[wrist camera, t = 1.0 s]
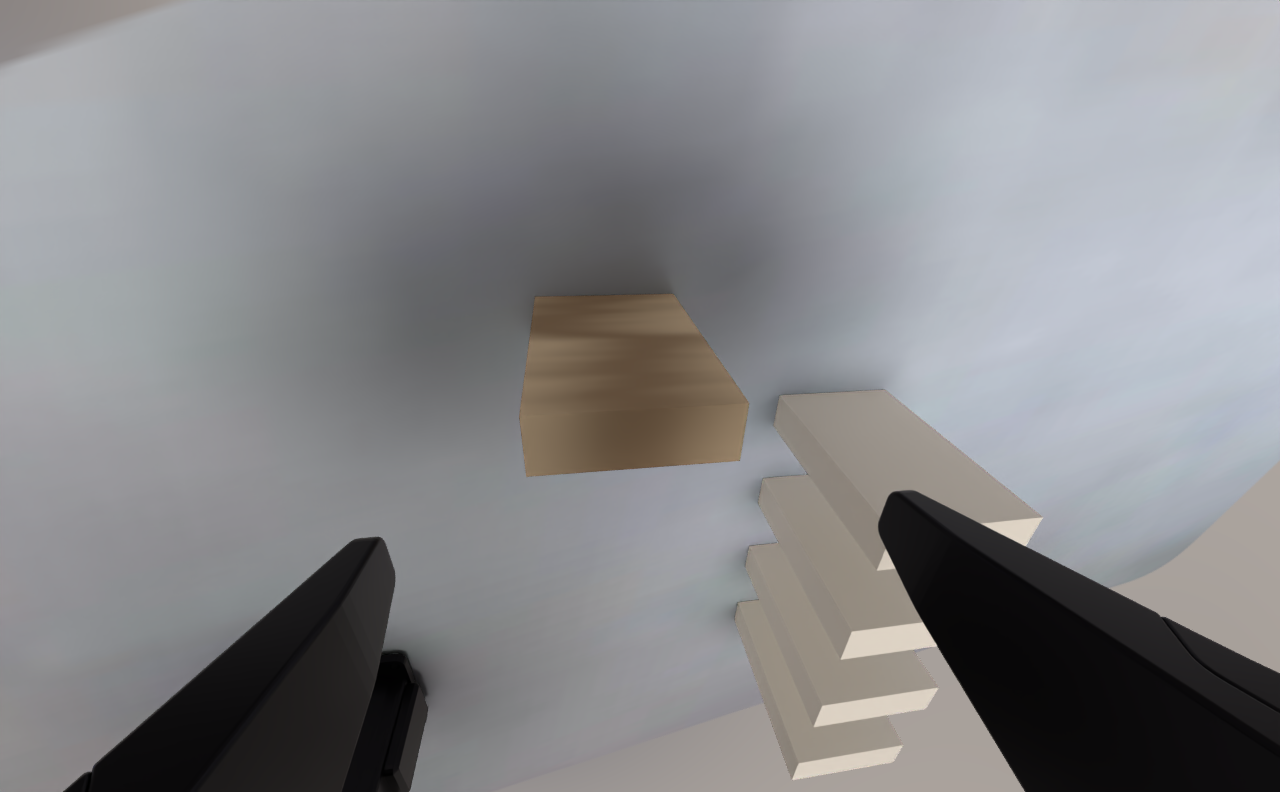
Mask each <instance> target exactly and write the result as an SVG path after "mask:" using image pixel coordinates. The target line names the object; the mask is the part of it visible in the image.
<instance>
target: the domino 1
mask: <svg viewBox="0 0 1280 792" xmlns="http://www.w3.org/2000/svg"><path fill="white" fill-rule="evenodd" d="M773 426H774V428H775V429H776V430H777V432H778V433H779V435H780V436H781V437H782V439H783V440H784V442H785V443H786V444H787V446H788V447H789V449H790V450H791V451H792V453H793V454H794V456H795V457H796V458H797V460H798V461H799V463H800V464H801V465H802V467H803V468H804V470H805V471H806V472H807V474H808V475H809V477H810V478H811V479H812V481H813V482H814V484H815V485H816V486H817V488H818V489H819V491H820V492H821V493H822V495H823V496H824V498H825V499H826V500H827V502H828V503H829V505H830V506H831V507H832V509H833V510H834V512H835V513H836V514H837V516H838V517H839V519H840V520H841V521H842V523H843V524H844V526H845V527H846V528H847V530H848V531H849V532H850V534H851V535H852V537H853V538H854V539H855V541H856V542H857V544H858V545H859V546H860V548H861V549H862V551H863V552H864V553H865V555H866V556H867V558H868V559H869V560H870V562H871V563H872V565H873V566H874V567H875V569H876V570H877V571H878V570H887V569H895V567H894V565H893V563H892V561H891V558H890V556H889V554H888V552H887V550H886V548H885V546H884V544H883V542H882V540H881V538H880V535H879V532H878V521H879V519H880V516H881V513H882V511H883V508H884V505H885V503H886V500H887V497H888V496H889V494H890V493H892V492H894V491H902V490H914V491H917V492H919V493H921V494H923V495H925V496H927V497H929V498H931V499H933V500H935V501H937V502H939V503H941V504H943V505H945V506H947V507H949V508H951V509H953V510H955V511H957V512H959V513H961V514H963V515H965V516H967V517H969V518H971V519H972V520H974V521H976V522H978V523H980V524H982V525H984V526H986V527H988V528H990V529H992V530H994V531H996V532H998V533H1000V534H1002V535H1004V536H1006V537H1008V538H1010V539H1012V540H1014V541H1016V542H1018V543H1020V544H1022V545H1024V546H1026V544H1027V543H1028V541H1029V540H1030V538H1031V536H1032V535H1033V533H1034V531H1035V530H1036V528H1037V527H1038V525H1039V523H1040V522H1041V520H1042V518H1043V517H1042V516H1041V515H1040V514H1038V513H1037V512H1036V511H1035V510H1034V509H1032V508H1031V507H1030V506H1029V505H1027V504H1026V503H1025V502H1024V501H1022V500H1021V499H1020V498H1019V497H1017V496H1016V495H1015V494H1014V493H1012V492H1011V491H1010V490H1009V489H1008V488H1006V487H1005V486H1004V485H1003V484H1001V483H1000V482H999V481H998V480H996V479H995V478H994V477H993V476H991V475H990V474H989V473H988V472H986V471H985V470H984V469H983V468H982V467H980V466H979V465H978V464H977V463H975V462H974V461H973V460H972V459H970V458H969V457H968V456H967V455H965V454H964V453H963V452H962V451H960V450H959V449H958V448H957V447H956V446H954V445H953V444H952V443H951V442H949V441H948V440H947V439H946V438H944V437H943V436H942V435H941V434H939V433H938V432H937V431H936V430H934V429H933V428H932V427H931V426H930V425H928V424H927V423H926V422H925V421H923V420H922V419H921V418H920V417H918V416H917V415H916V414H915V413H913V412H912V411H911V410H910V409H908V408H907V407H906V406H905V405H904V404H902V403H901V402H900V401H899V400H897V399H896V398H895V397H894V396H892V395H891V394H890V393H889V392H887V391H886V390H868V391H849V392H831V393H812V394H793V395H780V396H779V401H778V406H777V411H776V416H775V420H774V425H773Z"/></svg>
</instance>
